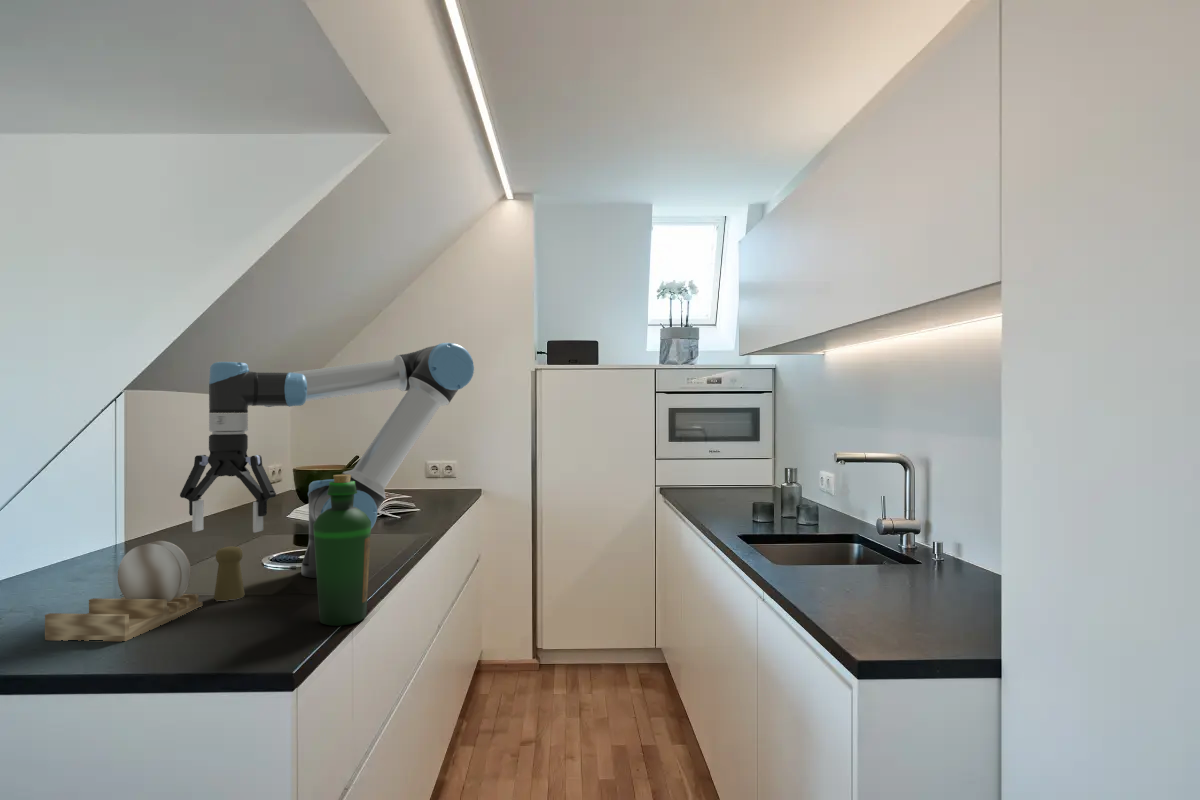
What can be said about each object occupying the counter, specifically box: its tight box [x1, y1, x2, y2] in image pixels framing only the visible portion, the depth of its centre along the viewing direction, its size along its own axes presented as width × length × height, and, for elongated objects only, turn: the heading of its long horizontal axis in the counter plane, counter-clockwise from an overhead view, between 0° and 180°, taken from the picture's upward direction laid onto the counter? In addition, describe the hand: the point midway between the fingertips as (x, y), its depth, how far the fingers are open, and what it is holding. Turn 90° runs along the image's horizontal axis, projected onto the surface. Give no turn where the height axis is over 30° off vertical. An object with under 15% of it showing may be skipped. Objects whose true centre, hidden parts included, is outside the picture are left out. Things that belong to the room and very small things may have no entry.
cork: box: [213, 545, 246, 600], centre depth 156 cm, size 6×6×11 cm
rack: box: [44, 540, 204, 642], centre depth 138 cm, size 15×22×14 cm
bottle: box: [313, 474, 372, 627], centre depth 138 cm, size 11×11×28 cm
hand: (227, 531), depth 156 cm, fingers open, 13 cm apart
